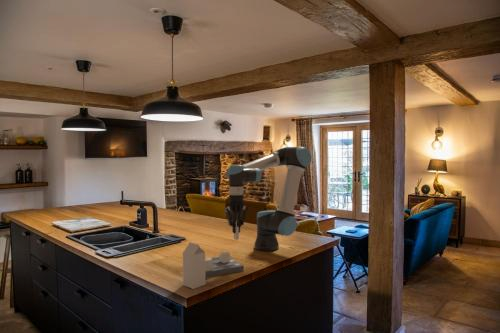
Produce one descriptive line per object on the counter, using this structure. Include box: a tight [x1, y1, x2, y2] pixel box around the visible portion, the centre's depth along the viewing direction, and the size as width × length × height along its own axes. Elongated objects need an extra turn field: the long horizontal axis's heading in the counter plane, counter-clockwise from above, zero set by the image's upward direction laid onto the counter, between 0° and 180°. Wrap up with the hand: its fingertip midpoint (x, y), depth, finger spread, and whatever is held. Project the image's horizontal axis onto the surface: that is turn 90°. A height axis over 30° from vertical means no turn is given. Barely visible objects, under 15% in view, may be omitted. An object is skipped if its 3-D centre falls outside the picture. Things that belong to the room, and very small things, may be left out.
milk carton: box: [182, 241, 206, 290], centre depth 158 cm, size 7×7×19 cm
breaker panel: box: [205, 256, 245, 278], centre depth 181 cm, size 24×20×8 cm
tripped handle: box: [219, 250, 231, 263], centre depth 183 cm, size 4×4×5 cm
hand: (236, 238), depth 186 cm, fingers closed
